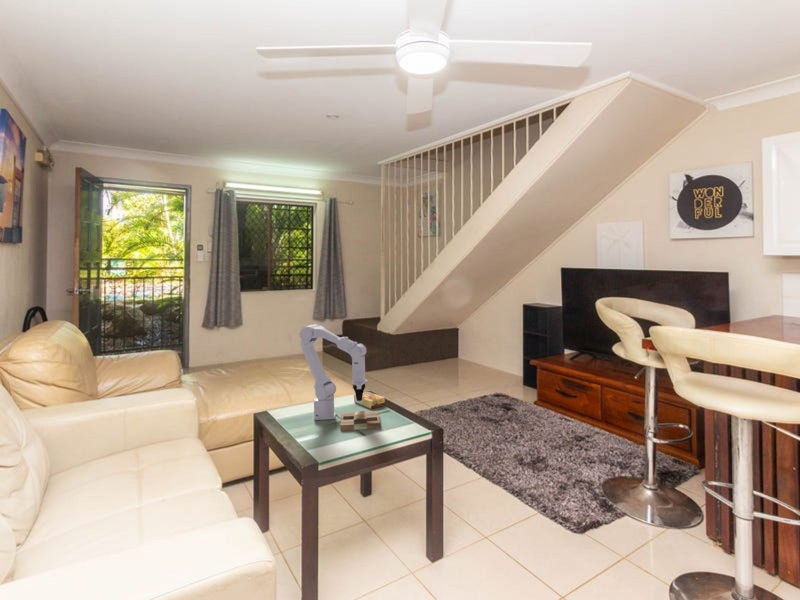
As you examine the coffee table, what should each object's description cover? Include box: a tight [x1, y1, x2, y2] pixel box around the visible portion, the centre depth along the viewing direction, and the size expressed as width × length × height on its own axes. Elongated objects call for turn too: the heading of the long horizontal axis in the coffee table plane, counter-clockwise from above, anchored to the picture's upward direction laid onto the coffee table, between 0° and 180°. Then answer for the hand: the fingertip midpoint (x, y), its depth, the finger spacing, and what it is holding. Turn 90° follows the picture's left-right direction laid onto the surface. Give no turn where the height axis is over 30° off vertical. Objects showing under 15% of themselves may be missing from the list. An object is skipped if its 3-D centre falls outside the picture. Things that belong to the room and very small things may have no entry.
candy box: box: [353, 390, 386, 409], centre depth 218 cm, size 9×4×15 cm
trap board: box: [340, 410, 381, 431], centre depth 191 cm, size 16×17×4 cm
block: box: [354, 410, 365, 419], centre depth 186 cm, size 4×4×4 cm
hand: (359, 400), depth 194 cm, fingers closed
